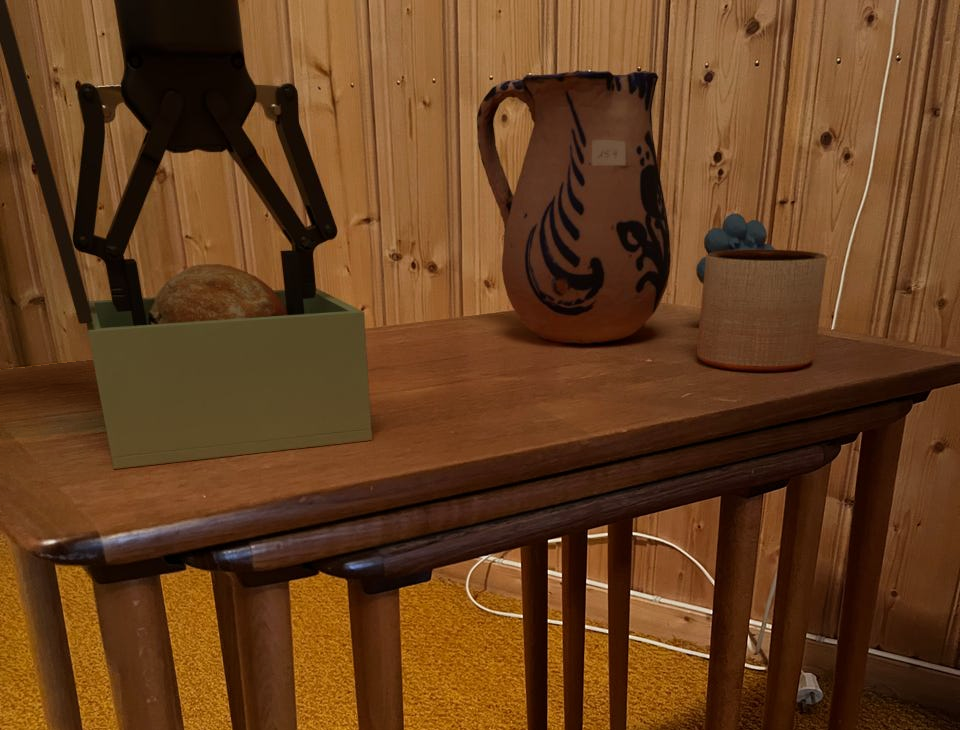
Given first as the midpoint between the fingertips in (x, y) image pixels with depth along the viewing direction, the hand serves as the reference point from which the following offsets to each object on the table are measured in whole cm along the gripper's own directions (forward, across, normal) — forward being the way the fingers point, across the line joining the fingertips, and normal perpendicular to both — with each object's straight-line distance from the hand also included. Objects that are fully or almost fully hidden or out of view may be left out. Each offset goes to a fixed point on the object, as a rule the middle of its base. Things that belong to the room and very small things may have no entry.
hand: (224, 352), depth 70 cm
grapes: (+6, +60, +22) cm, 64 cm away
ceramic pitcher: (+6, +40, +25) cm, 47 cm away
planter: (+6, +50, +5) cm, 50 cm away
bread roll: (0, 0, 0) cm, 0 cm away
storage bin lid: (-13, -9, 0) cm, 16 cm away
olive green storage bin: (+6, 0, 0) cm, 6 cm away
